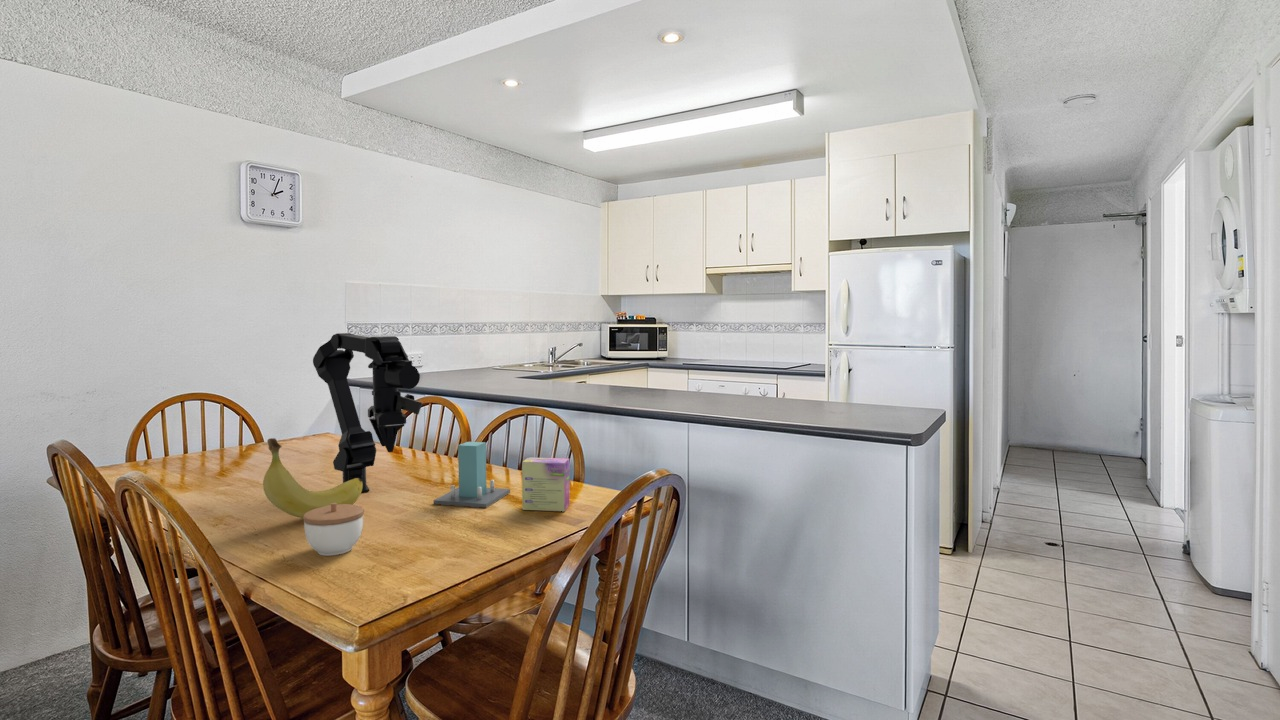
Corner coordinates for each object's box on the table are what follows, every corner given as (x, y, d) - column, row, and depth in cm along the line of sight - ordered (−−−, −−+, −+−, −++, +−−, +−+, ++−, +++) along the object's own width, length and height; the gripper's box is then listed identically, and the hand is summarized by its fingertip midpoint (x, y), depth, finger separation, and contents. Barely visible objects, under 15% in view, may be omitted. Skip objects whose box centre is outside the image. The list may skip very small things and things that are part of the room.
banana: (355, 504, 160) (353, 423, 159) (369, 508, 157) (367, 426, 155) (259, 529, 141) (256, 438, 140) (273, 534, 138) (270, 440, 137)
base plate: (433, 504, 160) (433, 488, 160) (461, 489, 174) (461, 474, 173) (486, 508, 157) (485, 491, 157) (510, 492, 171) (510, 477, 170)
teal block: (459, 496, 164) (458, 445, 163) (468, 491, 168) (468, 441, 168) (477, 497, 162) (476, 446, 161) (486, 492, 167) (485, 442, 166)
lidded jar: (342, 562, 122) (341, 513, 122) (291, 558, 124) (290, 510, 124) (375, 542, 133) (374, 497, 132) (328, 539, 135) (326, 495, 134)
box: (570, 505, 160) (569, 457, 159) (565, 512, 154) (564, 462, 153) (528, 504, 161) (528, 456, 160) (522, 510, 155) (521, 461, 154)
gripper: (427, 388, 158) (428, 451, 159) (411, 382, 174) (412, 440, 175) (378, 390, 152) (380, 456, 153) (366, 384, 168) (368, 444, 169)
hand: (387, 449), depth 163 cm, fingers open, 9 cm apart
